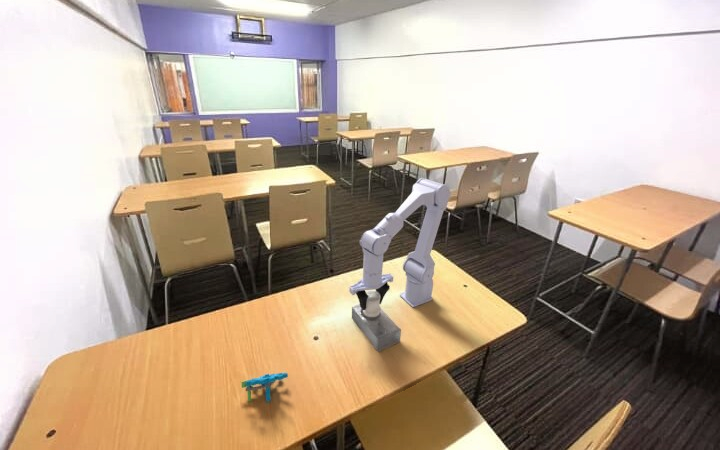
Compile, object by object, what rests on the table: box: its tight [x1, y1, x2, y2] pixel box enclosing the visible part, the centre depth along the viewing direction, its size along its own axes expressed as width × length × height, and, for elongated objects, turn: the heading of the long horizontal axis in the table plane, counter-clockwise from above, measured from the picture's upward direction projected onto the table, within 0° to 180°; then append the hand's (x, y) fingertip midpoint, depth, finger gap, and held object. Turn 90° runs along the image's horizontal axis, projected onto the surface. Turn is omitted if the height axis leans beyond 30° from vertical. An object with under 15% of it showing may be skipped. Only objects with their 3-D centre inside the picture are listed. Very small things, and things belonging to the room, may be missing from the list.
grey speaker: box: [351, 303, 402, 352], centre depth 94 cm, size 8×16×5 cm, turn 30°
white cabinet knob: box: [363, 290, 382, 317], centre depth 94 cm, size 6×6×6 cm
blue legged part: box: [241, 372, 289, 403], centre depth 74 cm, size 11×6×10 cm
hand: (370, 305), depth 95 cm, fingers closed on white cabinet knob, 5 cm apart
